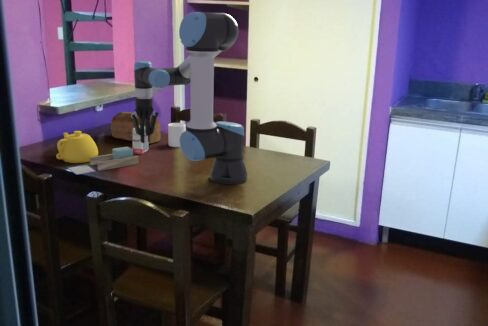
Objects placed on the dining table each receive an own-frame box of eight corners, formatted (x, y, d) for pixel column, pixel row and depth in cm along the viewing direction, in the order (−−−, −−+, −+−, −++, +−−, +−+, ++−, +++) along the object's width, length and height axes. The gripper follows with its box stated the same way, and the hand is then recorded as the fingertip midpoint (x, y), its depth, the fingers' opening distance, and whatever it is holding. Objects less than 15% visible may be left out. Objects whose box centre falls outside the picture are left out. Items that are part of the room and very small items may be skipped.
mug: (192, 143, 254) (192, 122, 251) (179, 148, 244) (179, 127, 240) (178, 141, 257) (177, 120, 254) (165, 146, 247) (164, 125, 244)
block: (133, 162, 217) (132, 149, 215) (118, 165, 213) (117, 151, 211) (127, 159, 221) (127, 146, 220) (113, 161, 217) (112, 148, 215)
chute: (138, 164, 217) (138, 156, 215) (99, 170, 206) (98, 162, 205) (128, 158, 224) (128, 151, 223) (90, 164, 213) (89, 157, 212)
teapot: (105, 159, 222) (104, 131, 219) (66, 167, 209) (64, 138, 205) (82, 150, 235) (80, 124, 232) (44, 157, 222) (41, 130, 218)
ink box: (142, 154, 231) (141, 129, 228) (132, 153, 232) (131, 128, 229) (149, 149, 240) (148, 125, 236) (139, 148, 241) (138, 125, 237)
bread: (149, 146, 246) (148, 118, 242) (108, 138, 259) (106, 111, 255) (164, 141, 256) (163, 114, 251) (124, 134, 269) (123, 108, 265)
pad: (95, 171, 205) (95, 171, 205) (76, 174, 200) (76, 174, 200) (86, 165, 213) (86, 164, 212) (68, 168, 208) (68, 167, 208)
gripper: (153, 95, 222) (154, 145, 229) (126, 97, 215) (128, 149, 221) (161, 97, 217) (162, 149, 223) (133, 99, 209) (135, 153, 216)
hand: (145, 149), depth 222 cm, fingers closed
